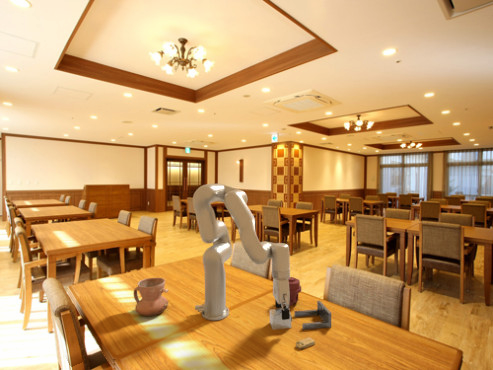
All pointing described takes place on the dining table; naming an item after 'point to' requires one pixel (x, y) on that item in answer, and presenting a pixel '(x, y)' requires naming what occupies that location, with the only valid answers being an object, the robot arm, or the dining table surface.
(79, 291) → the dining table surface
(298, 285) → the mechanical component
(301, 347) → the brass key tag
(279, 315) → the aluminium block
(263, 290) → the dining table surface
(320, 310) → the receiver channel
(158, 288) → the ceramic jug
